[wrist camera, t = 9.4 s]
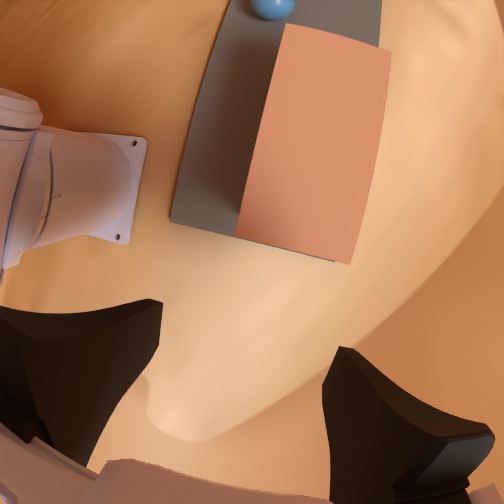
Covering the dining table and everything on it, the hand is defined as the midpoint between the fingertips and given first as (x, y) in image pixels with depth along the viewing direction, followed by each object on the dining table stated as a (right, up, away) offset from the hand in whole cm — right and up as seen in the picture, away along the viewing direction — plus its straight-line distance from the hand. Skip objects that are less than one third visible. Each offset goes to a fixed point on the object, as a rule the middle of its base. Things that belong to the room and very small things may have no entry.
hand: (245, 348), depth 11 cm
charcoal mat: (+3, +17, +6) cm, 18 cm away
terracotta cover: (+4, +10, +7) cm, 13 cm away
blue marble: (+2, +21, +5) cm, 22 cm away
